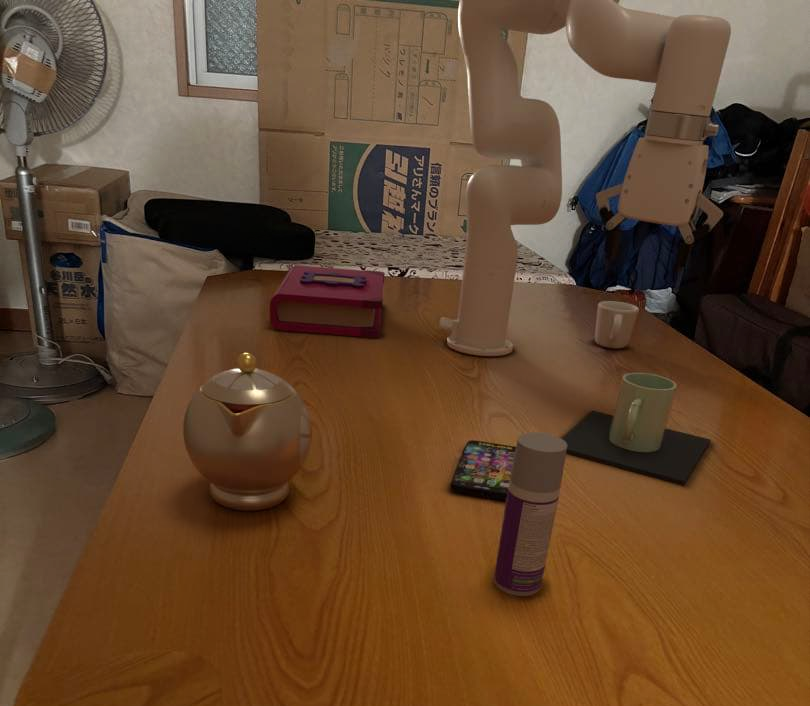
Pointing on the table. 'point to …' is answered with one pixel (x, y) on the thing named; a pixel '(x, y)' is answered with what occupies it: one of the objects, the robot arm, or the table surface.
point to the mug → (642, 412)
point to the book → (329, 301)
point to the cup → (615, 323)
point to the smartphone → (484, 470)
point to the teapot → (247, 435)
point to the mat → (664, 463)
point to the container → (529, 513)
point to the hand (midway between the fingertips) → (643, 265)
